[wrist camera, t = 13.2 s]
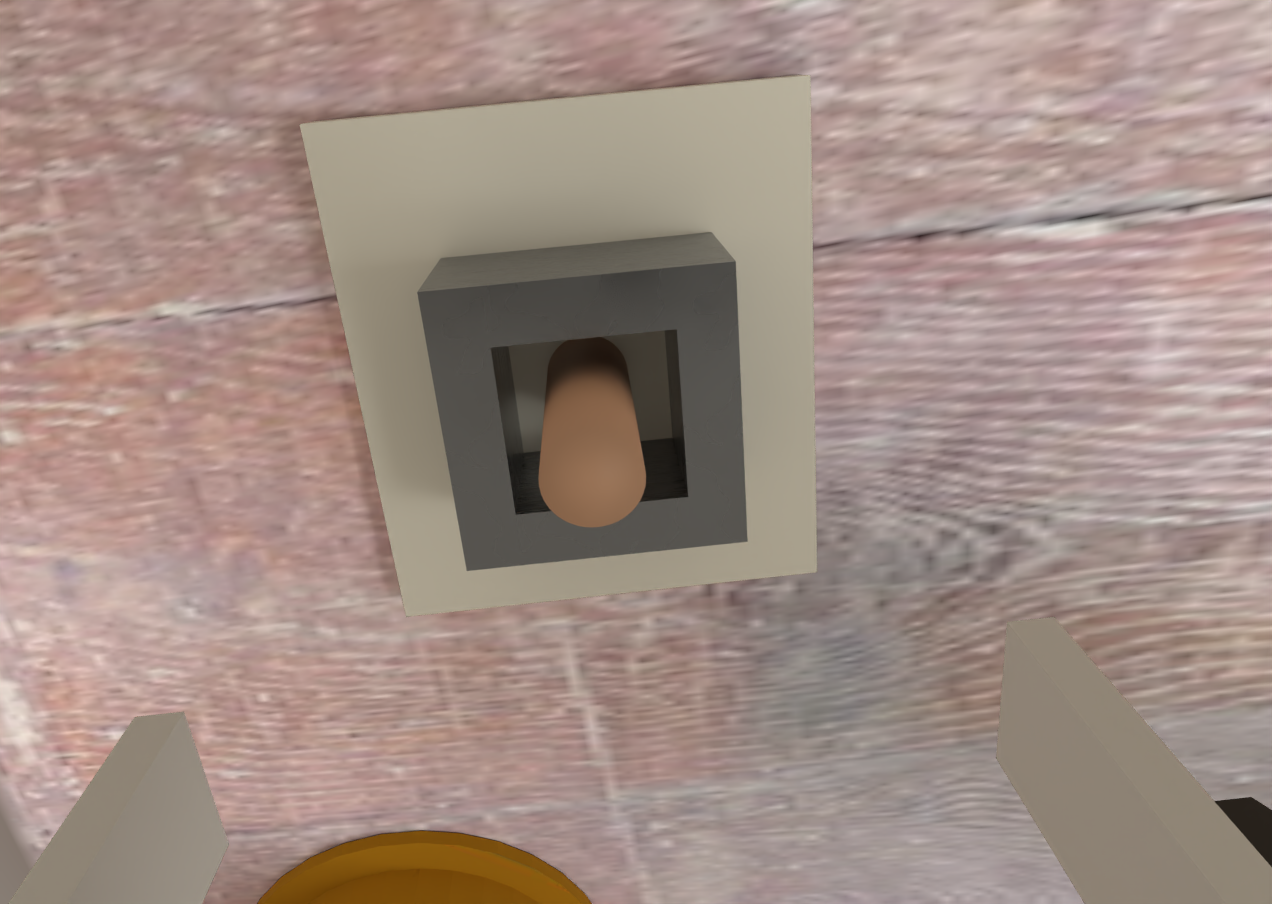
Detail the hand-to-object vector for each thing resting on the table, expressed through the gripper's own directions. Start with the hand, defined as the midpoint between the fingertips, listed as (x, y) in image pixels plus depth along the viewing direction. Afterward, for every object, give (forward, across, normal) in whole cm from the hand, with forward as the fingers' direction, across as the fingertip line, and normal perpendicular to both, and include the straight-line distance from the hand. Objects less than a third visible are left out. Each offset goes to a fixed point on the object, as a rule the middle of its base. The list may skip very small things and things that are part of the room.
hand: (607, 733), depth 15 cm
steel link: (+19, 0, 0) cm, 19 cm away
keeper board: (+20, 0, 0) cm, 20 cm away
